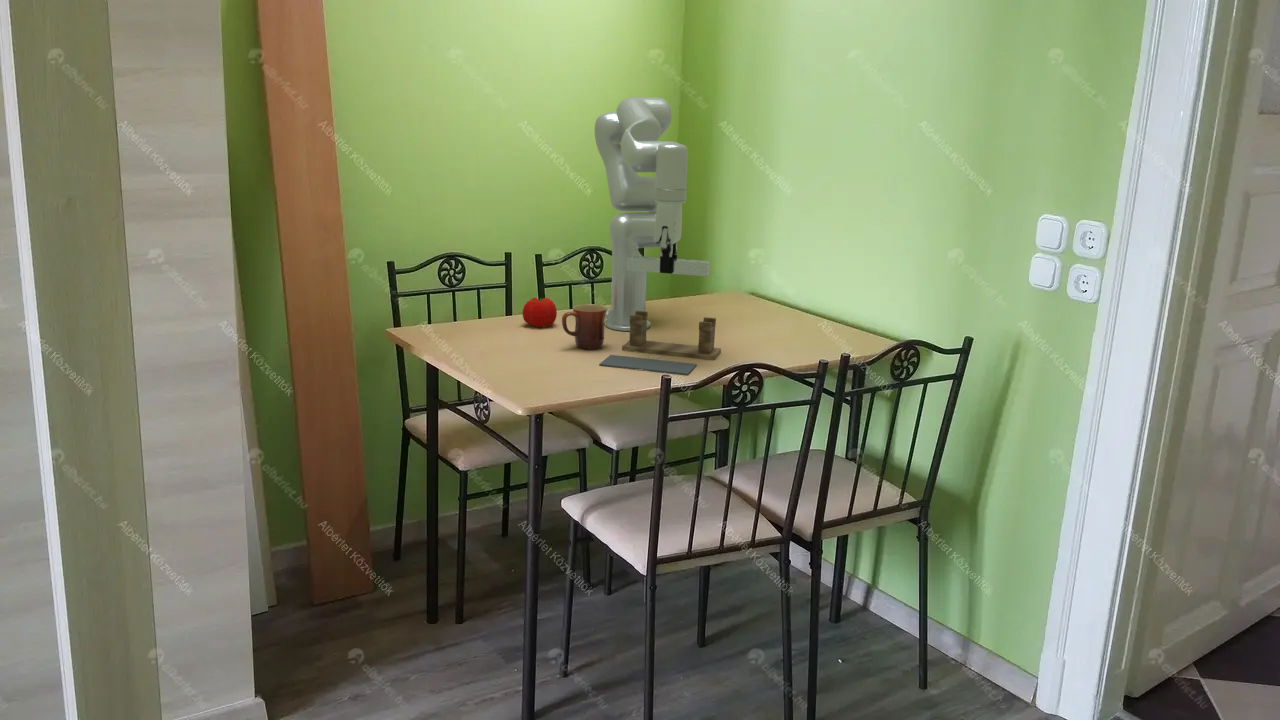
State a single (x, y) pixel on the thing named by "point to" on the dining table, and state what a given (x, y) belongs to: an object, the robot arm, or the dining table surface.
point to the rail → (678, 265)
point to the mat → (648, 364)
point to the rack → (701, 351)
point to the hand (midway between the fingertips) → (668, 271)
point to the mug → (587, 325)
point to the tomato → (539, 312)
